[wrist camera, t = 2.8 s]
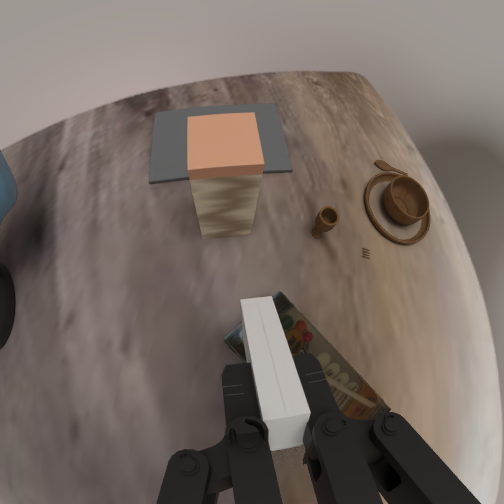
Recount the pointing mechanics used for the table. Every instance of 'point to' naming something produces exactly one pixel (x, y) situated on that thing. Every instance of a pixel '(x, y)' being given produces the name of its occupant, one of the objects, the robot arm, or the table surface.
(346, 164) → the table surface
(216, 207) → the birch block
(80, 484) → the table surface
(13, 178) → the robot arm
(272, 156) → the rubber mat
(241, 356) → the beverage carton
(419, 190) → the place setting
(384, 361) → the table surface
